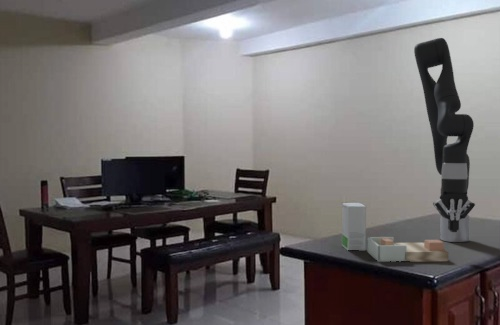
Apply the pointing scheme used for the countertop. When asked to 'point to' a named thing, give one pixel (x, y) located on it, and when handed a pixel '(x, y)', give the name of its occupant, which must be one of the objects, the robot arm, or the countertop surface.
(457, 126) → the robot arm
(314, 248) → the countertop surface
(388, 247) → the box
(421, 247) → the board
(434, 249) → the tile
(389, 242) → the tile
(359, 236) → the skincare box
